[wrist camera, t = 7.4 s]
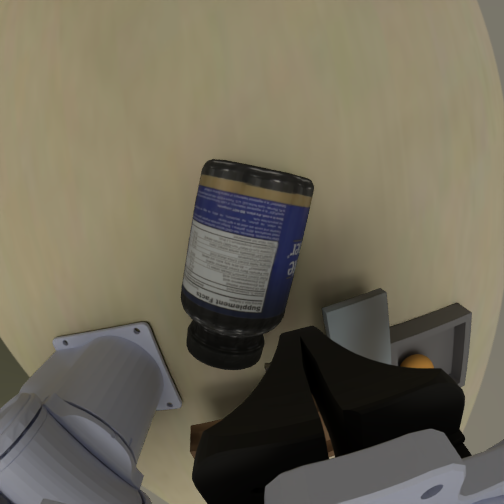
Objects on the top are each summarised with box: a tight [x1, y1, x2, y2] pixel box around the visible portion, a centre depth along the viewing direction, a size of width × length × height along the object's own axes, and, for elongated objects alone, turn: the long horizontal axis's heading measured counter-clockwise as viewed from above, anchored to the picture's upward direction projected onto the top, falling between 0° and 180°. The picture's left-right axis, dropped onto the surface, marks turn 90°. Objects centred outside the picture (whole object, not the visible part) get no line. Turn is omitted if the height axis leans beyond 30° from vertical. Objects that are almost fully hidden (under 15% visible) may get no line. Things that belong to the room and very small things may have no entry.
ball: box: [400, 354, 434, 368], centre depth 21 cm, size 3×3×3 cm
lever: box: [190, 288, 391, 459], centre depth 18 cm, size 14×11×3 cm
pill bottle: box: [181, 159, 314, 370], centre depth 18 cm, size 6×6×11 cm
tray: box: [389, 303, 472, 387], centre depth 22 cm, size 8×8×2 cm
